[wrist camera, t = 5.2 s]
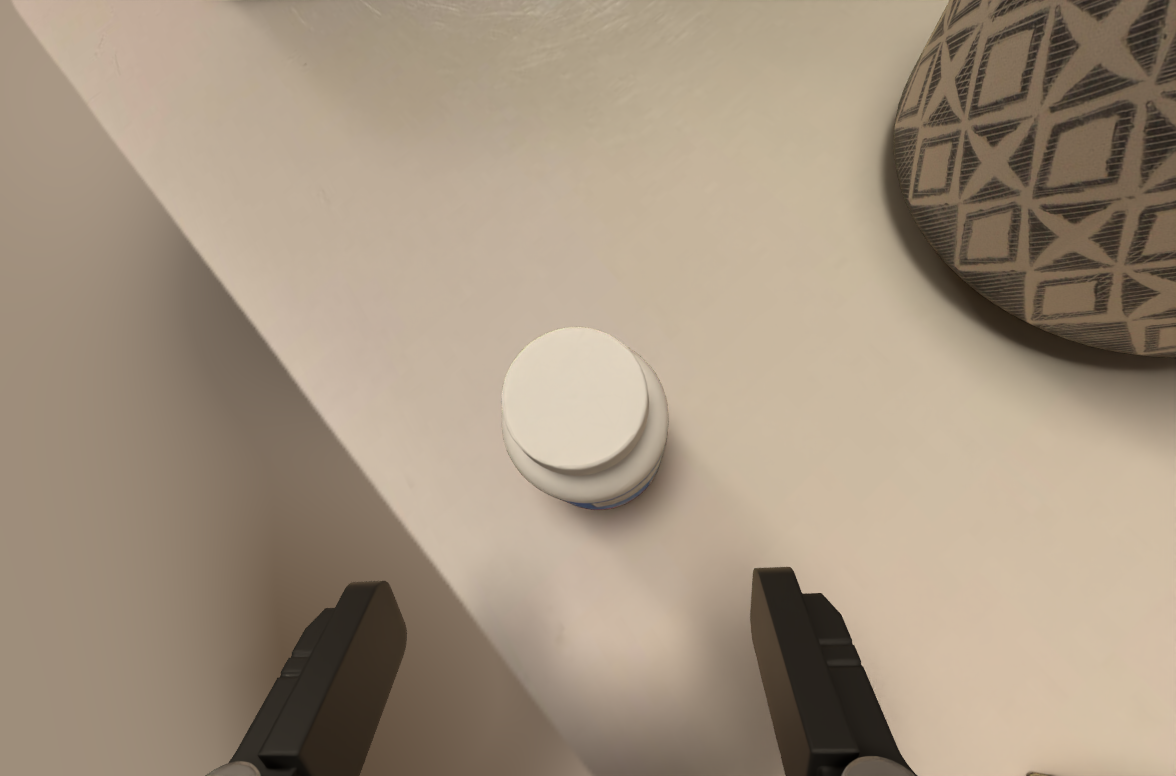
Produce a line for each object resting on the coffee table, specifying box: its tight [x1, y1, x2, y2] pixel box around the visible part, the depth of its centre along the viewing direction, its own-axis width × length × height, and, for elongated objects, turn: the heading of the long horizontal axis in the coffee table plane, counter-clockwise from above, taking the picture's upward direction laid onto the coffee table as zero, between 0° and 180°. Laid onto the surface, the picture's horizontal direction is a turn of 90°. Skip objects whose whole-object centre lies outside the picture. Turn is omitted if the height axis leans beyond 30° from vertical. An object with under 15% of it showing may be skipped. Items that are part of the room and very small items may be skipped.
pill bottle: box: [501, 327, 668, 510], centre depth 19 cm, size 6×5×10 cm
